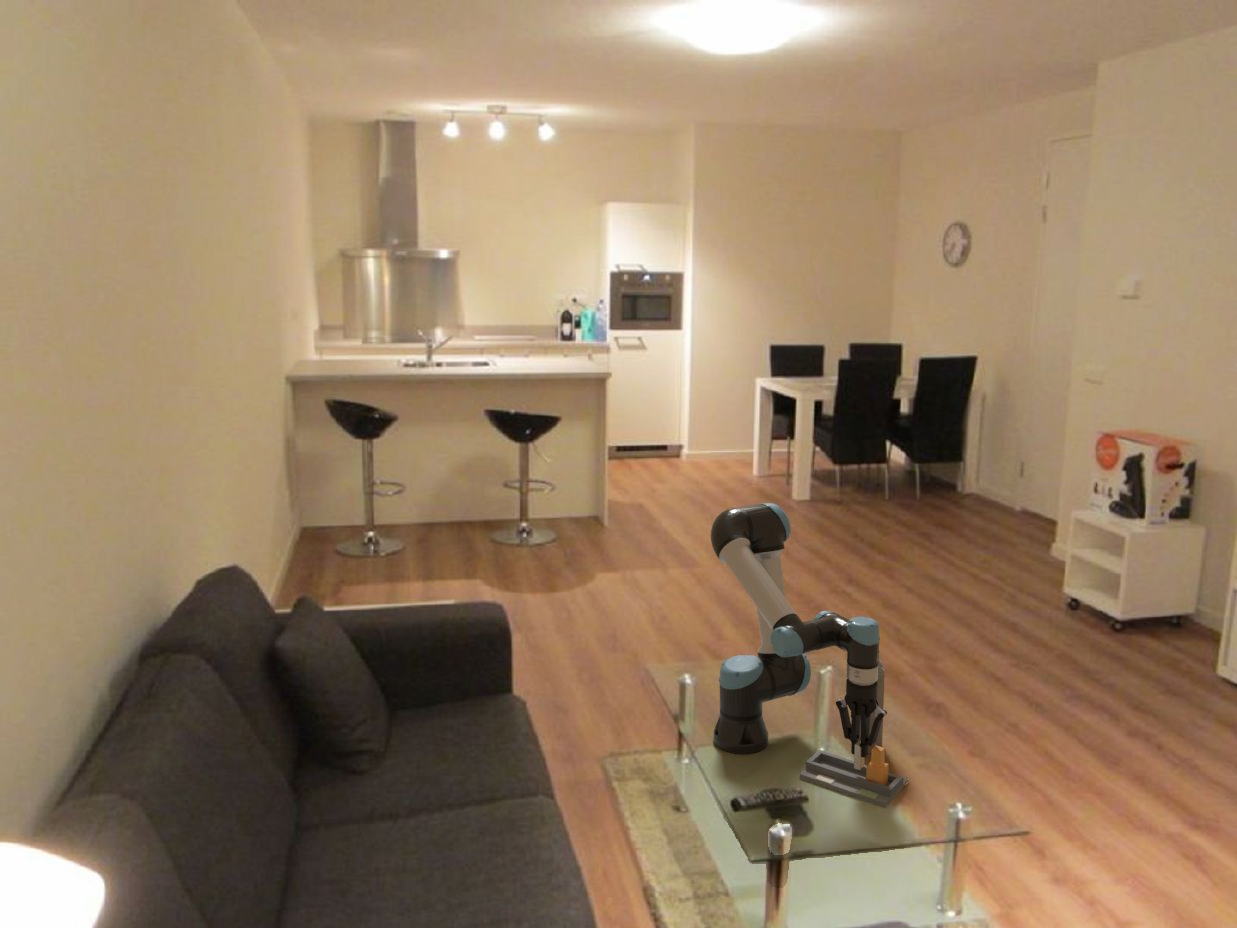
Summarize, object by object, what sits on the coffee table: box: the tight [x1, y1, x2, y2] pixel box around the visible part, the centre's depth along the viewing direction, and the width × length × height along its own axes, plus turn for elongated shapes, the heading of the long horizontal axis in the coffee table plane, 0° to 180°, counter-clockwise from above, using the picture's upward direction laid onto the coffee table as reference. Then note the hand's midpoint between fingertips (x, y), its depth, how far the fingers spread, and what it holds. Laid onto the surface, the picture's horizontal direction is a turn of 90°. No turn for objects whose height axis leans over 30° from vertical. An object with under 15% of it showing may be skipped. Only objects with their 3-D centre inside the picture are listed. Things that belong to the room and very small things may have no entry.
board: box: [799, 749, 909, 808], centre depth 241 cm, size 23×14×3 cm, turn 51°
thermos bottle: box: [858, 654, 886, 754], centre depth 256 cm, size 8×8×28 cm
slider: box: [866, 745, 890, 785], centre depth 236 cm, size 4×4×9 cm
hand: (859, 766), depth 239 cm, fingers closed
